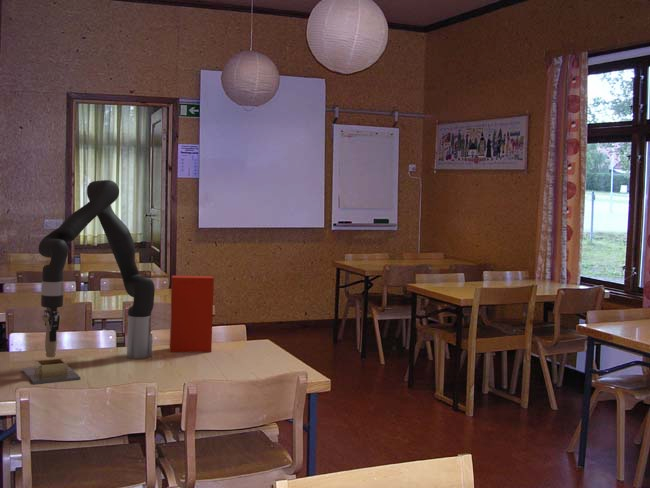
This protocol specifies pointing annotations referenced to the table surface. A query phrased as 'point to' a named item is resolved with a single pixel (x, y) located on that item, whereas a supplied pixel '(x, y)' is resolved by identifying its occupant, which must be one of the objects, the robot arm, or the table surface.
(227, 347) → the table surface
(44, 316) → the handle
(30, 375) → the square socket base
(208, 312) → the red rectangular box
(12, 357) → the table surface
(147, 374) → the table surface
